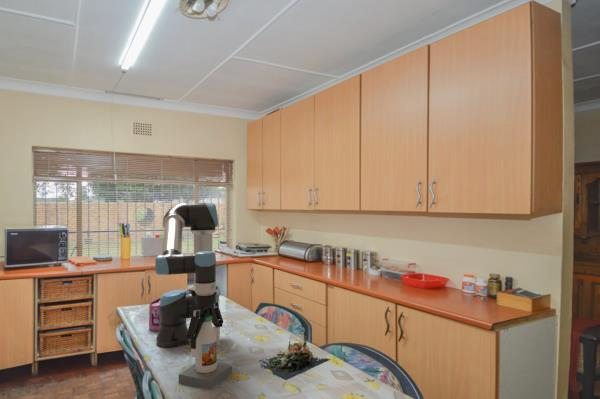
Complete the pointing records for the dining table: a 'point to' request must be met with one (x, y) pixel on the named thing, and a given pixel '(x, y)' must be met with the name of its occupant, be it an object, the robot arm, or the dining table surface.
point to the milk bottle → (207, 348)
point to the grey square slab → (205, 376)
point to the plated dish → (293, 361)
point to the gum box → (154, 315)
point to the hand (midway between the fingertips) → (206, 350)
